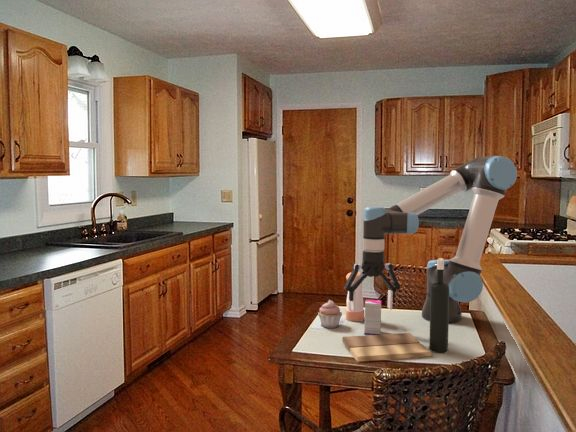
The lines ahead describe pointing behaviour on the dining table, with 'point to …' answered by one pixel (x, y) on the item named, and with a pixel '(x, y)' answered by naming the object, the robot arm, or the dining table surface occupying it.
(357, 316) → the peach and white cylinder
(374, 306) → the supplement box
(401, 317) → the dining table surface
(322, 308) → the cupcake
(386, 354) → the laid plank
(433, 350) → the wine bottle
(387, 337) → the board
